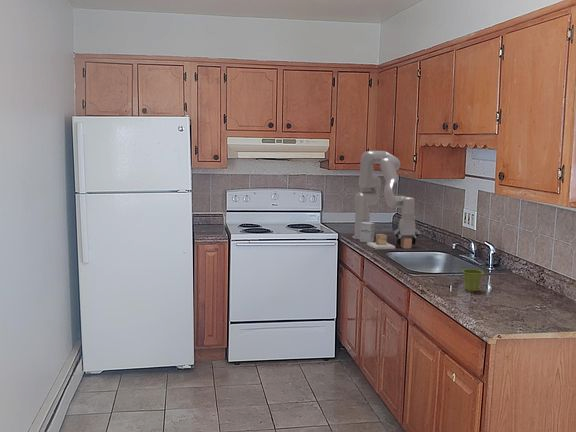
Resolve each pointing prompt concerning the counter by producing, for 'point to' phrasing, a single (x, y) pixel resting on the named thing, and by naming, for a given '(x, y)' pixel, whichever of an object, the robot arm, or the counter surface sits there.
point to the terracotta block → (406, 242)
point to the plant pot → (472, 279)
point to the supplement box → (367, 232)
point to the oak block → (381, 239)
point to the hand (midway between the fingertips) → (406, 244)
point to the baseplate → (381, 246)
